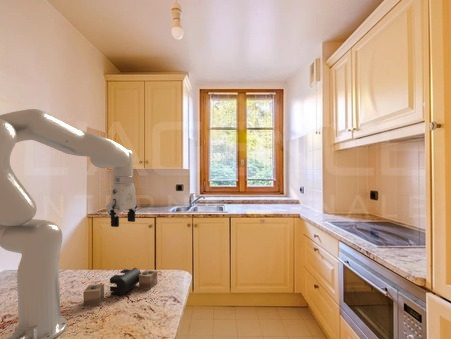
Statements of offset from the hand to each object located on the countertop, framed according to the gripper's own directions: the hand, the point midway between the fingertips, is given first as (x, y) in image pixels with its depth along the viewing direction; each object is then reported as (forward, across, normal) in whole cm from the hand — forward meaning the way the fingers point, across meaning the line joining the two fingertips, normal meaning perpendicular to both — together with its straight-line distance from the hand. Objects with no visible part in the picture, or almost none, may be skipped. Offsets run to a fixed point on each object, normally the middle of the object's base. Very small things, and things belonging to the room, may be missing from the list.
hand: (123, 224), depth 101 cm
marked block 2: (+24, +2, -10) cm, 26 cm away
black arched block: (+24, -4, -4) cm, 25 cm away
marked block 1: (+24, -14, +1) cm, 28 cm away
